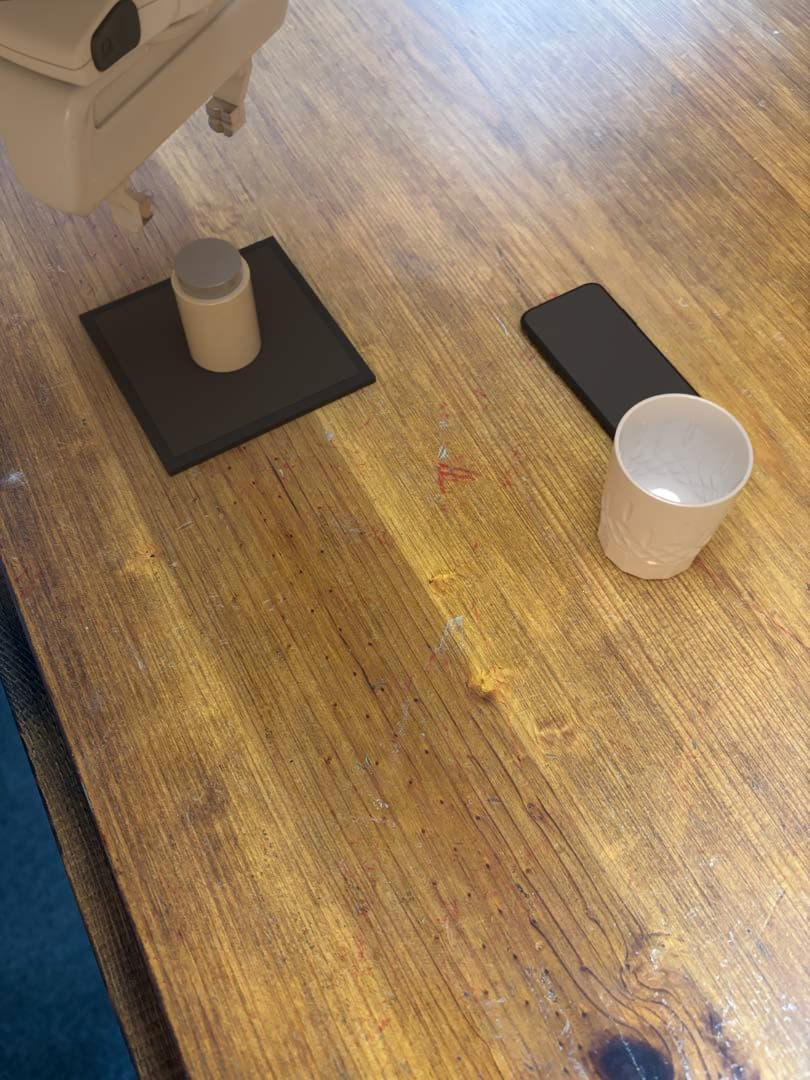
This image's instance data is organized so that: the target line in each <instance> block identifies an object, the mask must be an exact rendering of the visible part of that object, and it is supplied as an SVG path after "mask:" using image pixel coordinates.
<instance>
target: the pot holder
mask: <svg viewBox="0 0 810 1080" xmlns="http://www.w3.org/2000/svg"><path fill="white" fill-rule="evenodd" d="M237 250H238V251H239V253H240V255H241V256H242V257H243V258H244V260H245V261H246V262H247V264H248V267H249V270H250V276H251V282H252V288H253V294H254V300H255V305H256V311H257V317H258V323H259V329H260V335H261V348H260V351H259V353H258V355H257V356H256V358H255V359H254V360H253V361H252V362H251V363H249V364H248V365H246V366H245V367H243V368H241V369H238V370H235V371H231V372H214V371H210V370H207V369H205V368H203V367H201V366H200V365H198V364H197V363H196V362H195V361H194V360H193V358H192V357H191V355H190V352H189V348H188V344H187V340H186V337H185V333H184V329H183V325H182V321H181V318H180V314H179V310H178V306H177V302H176V299H175V295H174V291H173V287H172V283H171V277H168V278H166V279H163V280H161V281H159V282H156V283H153V284H152V285H149V286H146V287H144V288H141V289H139V290H136V291H134V292H132V293H129V294H127V295H124V296H121V297H119V298H117V299H114V300H111V301H110V302H108V303H105V304H103V305H100V306H97V307H95V308H93V309H90V310H88V311H85V312H83V313H80V314H79V315H78V318H79V321H80V322H81V324H82V326H83V328H84V329H85V331H86V333H87V335H88V337H89V338H90V340H91V341H92V343H93V345H94V347H95V349H96V351H97V352H98V354H99V356H100V357H101V359H102V360H103V362H104V364H105V365H106V367H107V369H108V372H109V373H110V375H111V376H112V378H113V380H114V381H115V383H116V385H117V386H118V389H119V391H120V393H121V394H122V395H123V397H124V399H125V401H126V402H127V404H128V406H129V408H130V410H131V411H132V413H133V415H134V416H135V418H136V420H137V421H138V423H139V425H140V427H141V428H142V430H143V432H144V434H145V435H146V437H147V439H148V440H149V442H150V444H151V446H152V447H153V450H154V451H155V453H156V454H157V457H158V458H159V460H160V461H161V463H162V465H163V467H164V468H165V470H166V472H167V474H168V475H169V477H172V476H175V475H177V474H179V473H181V472H183V471H186V470H188V469H190V468H192V467H194V466H197V465H198V464H201V463H203V462H205V461H207V460H209V459H212V458H214V457H216V456H218V455H220V454H222V453H225V452H227V451H229V450H232V449H233V448H236V447H237V446H240V445H242V444H245V443H246V442H248V441H251V440H252V439H255V438H256V437H259V436H261V435H264V434H265V433H268V432H270V431H272V430H274V429H276V428H278V427H281V426H283V425H286V424H287V423H289V422H292V421H294V420H296V419H298V418H300V417H303V416H305V415H307V414H309V413H311V412H313V411H315V410H318V409H320V408H322V407H324V406H326V405H329V404H331V403H333V402H335V401H337V400H340V399H341V398H344V397H346V396H348V395H350V394H352V393H354V392H357V391H359V390H361V389H363V388H365V387H368V386H369V385H372V384H374V383H375V382H377V376H376V375H375V373H374V371H373V370H372V369H371V367H370V366H369V365H368V363H367V362H366V361H365V359H364V358H363V356H362V355H361V354H360V352H359V351H358V350H357V348H356V347H355V346H354V344H353V343H352V342H351V341H350V338H348V336H347V335H346V333H345V332H344V330H343V329H342V328H341V327H340V325H339V323H338V322H337V321H336V319H335V318H334V317H333V316H332V314H331V313H330V311H329V310H328V309H327V307H326V306H325V305H324V303H323V302H322V301H321V299H320V298H319V297H318V295H317V293H315V290H313V288H312V287H311V285H310V284H309V283H308V281H307V280H306V279H305V277H304V276H303V275H302V273H301V272H300V271H299V269H298V268H297V266H296V265H295V264H294V262H293V261H292V259H291V258H290V257H289V255H288V254H287V253H286V251H285V250H284V248H283V247H282V246H281V244H280V243H279V242H278V240H277V239H276V237H274V235H271V236H269V237H266V238H263V239H261V240H259V241H255V242H253V243H251V244H249V245H247V246H244V247H242V248H239V249H237Z"/></svg>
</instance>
